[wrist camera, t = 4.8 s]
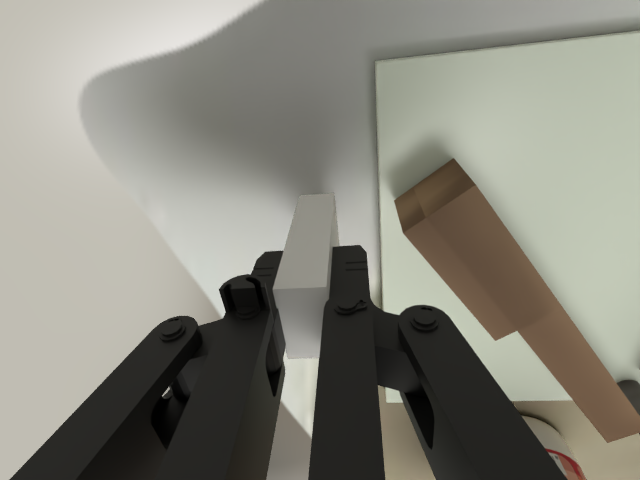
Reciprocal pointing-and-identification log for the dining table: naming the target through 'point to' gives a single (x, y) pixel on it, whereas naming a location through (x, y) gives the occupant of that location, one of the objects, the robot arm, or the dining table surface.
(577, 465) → the fruit juice
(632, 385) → the tongs fixed
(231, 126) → the dining table surface
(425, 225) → the arm
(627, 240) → the board
